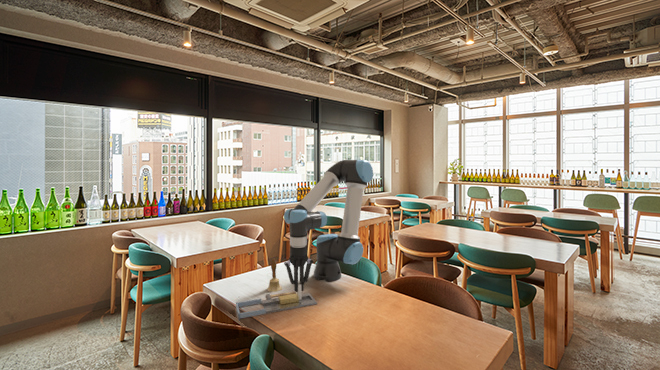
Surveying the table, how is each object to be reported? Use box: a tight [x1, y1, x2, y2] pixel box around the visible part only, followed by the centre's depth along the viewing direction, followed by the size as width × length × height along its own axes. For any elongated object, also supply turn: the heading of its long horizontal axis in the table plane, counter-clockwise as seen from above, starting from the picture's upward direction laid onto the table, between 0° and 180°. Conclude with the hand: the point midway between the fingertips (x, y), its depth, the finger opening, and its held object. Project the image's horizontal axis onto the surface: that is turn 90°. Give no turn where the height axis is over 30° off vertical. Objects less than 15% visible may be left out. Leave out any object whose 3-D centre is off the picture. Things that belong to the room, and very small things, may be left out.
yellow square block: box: [288, 293, 299, 304], centre depth 136 cm, size 4×4×3 cm
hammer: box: [265, 291, 297, 300], centre depth 144 cm, size 13×5×2 cm, turn 111°
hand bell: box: [266, 258, 283, 292], centre depth 151 cm, size 8×8×16 cm
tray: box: [235, 298, 266, 322], centre depth 129 cm, size 11×11×3 cm
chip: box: [277, 295, 290, 306], centre depth 135 cm, size 4×4×3 cm
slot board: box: [261, 292, 318, 315], centre depth 135 cm, size 22×11×2 cm, turn 112°
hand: (299, 298), depth 137 cm, fingers closed
